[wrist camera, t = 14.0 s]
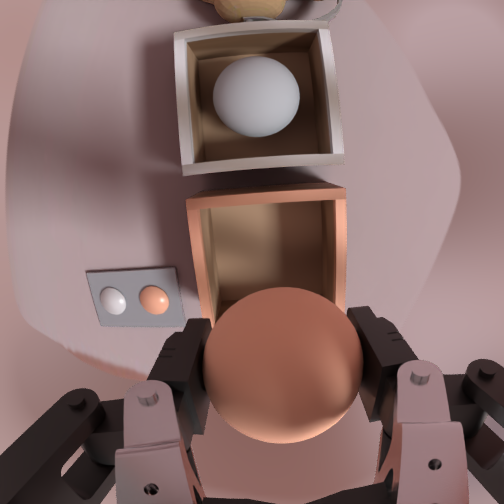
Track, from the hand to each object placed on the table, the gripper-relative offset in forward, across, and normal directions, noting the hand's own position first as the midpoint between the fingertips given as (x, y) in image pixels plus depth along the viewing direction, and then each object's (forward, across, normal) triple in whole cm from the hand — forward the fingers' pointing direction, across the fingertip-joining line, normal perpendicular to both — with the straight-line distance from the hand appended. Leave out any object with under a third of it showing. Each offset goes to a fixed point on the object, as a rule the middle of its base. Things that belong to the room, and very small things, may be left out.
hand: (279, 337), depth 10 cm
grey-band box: (+11, 0, -10) cm, 15 cm away
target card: (+11, +11, +3) cm, 16 cm away
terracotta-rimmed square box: (+11, 0, 0) cm, 11 cm away
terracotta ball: (-2, 0, 0) cm, 2 cm away
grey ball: (+8, 0, -10) cm, 13 cm away
